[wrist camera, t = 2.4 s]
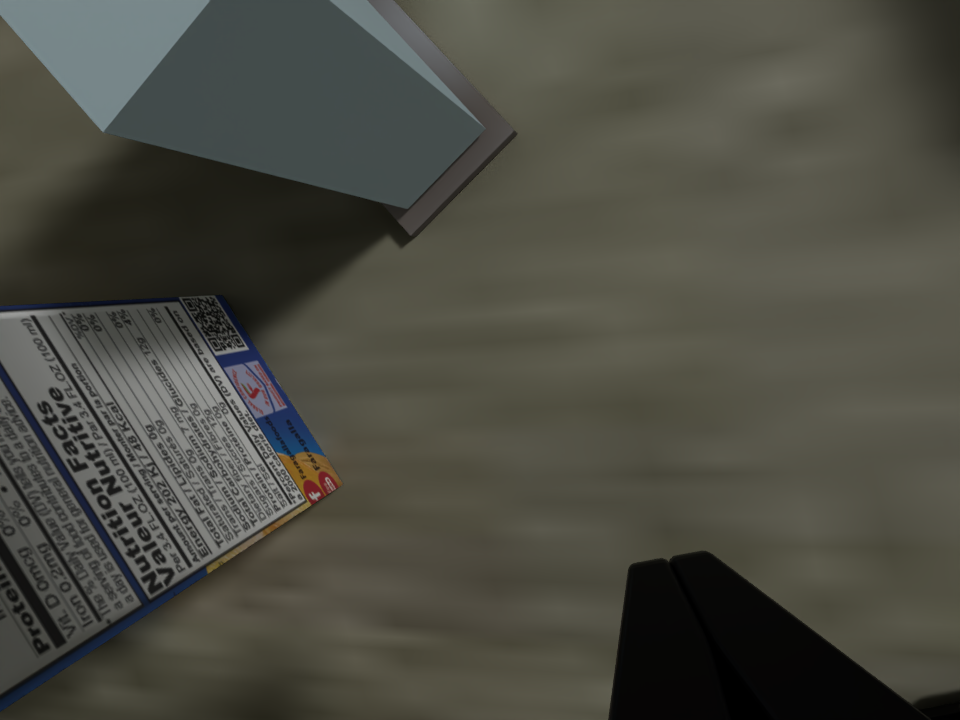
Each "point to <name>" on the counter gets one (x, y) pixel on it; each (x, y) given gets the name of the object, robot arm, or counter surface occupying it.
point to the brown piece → (496, 126)
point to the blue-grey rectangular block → (258, 86)
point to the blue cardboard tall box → (132, 467)
